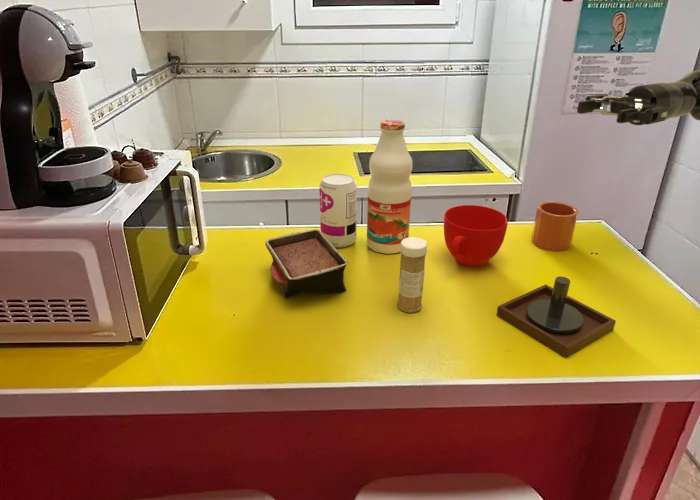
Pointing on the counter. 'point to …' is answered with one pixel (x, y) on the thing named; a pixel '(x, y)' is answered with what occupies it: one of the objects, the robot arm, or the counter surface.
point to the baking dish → (306, 263)
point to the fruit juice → (389, 190)
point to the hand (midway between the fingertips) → (598, 112)
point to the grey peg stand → (556, 310)
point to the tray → (558, 342)
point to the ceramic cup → (474, 233)
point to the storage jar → (554, 226)
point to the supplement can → (338, 209)
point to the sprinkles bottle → (411, 274)
